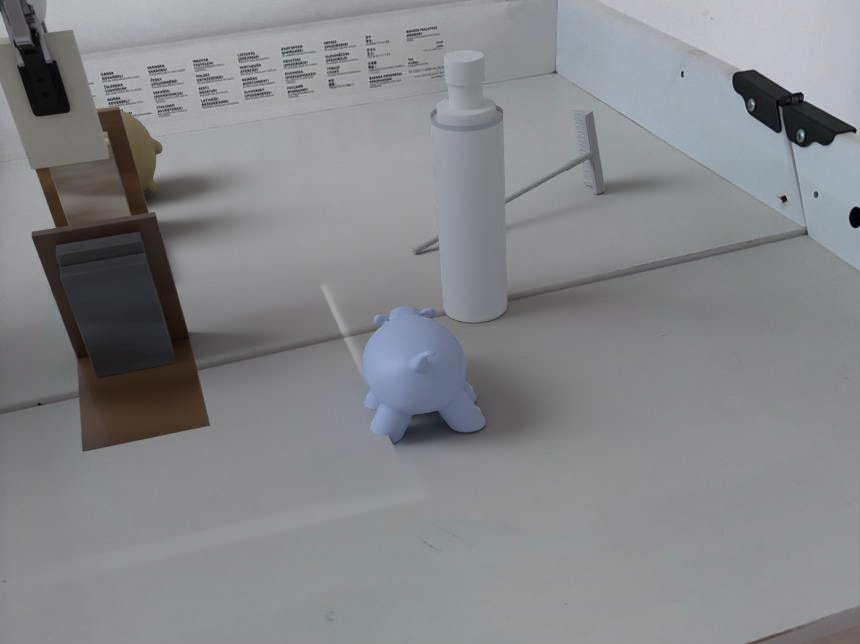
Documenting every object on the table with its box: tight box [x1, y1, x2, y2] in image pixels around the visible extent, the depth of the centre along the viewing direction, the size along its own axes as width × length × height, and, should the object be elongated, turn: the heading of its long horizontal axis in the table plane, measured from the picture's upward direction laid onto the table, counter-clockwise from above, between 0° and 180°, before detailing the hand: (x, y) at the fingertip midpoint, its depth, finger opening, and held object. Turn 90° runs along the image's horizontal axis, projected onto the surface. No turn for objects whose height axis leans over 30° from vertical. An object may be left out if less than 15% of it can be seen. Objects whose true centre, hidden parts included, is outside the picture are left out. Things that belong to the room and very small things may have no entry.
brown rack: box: [31, 211, 211, 453], centre depth 87 cm, size 18×11×13 cm, turn 18°
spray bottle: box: [429, 49, 508, 324], centre depth 93 cm, size 7×7×25 cm
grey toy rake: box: [412, 107, 606, 255], centre depth 115 cm, size 4×28×9 cm, turn 124°
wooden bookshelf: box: [34, 106, 150, 228], centre depth 109 cm, size 18×11×13 cm, turn 18°
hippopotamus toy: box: [362, 305, 487, 445], centre depth 85 cm, size 11×15×10 cm
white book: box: [0, 29, 109, 170], centre depth 87 cm, size 2×7×10 cm, turn 107°
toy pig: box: [96, 106, 164, 194], centre depth 123 cm, size 10×12×11 cm
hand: (52, 106), depth 87 cm, fingers closed on white book, 2 cm apart
